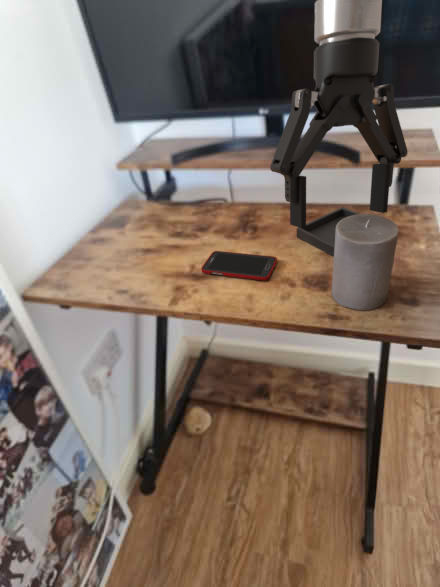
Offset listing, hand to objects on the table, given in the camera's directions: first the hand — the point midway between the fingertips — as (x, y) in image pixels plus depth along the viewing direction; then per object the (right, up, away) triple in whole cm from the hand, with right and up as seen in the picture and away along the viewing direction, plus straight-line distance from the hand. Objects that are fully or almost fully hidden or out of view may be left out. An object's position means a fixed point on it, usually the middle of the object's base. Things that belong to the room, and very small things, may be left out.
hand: (339, 218), depth 56 cm
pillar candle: (+8, -11, +17) cm, 22 cm away
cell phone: (-13, -5, +28) cm, 31 cm away
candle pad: (+11, +2, +33) cm, 35 cm away
